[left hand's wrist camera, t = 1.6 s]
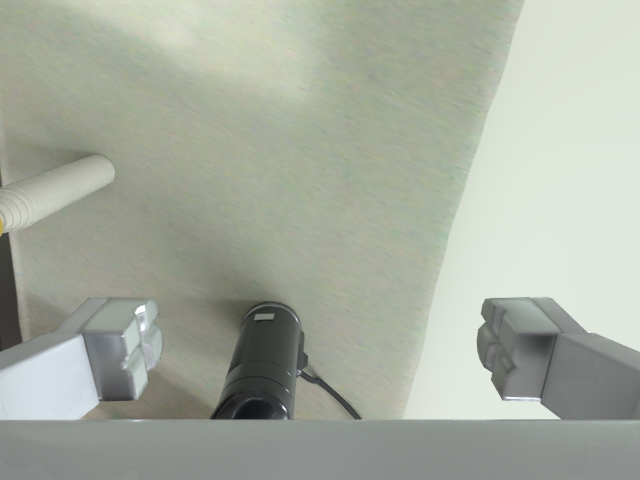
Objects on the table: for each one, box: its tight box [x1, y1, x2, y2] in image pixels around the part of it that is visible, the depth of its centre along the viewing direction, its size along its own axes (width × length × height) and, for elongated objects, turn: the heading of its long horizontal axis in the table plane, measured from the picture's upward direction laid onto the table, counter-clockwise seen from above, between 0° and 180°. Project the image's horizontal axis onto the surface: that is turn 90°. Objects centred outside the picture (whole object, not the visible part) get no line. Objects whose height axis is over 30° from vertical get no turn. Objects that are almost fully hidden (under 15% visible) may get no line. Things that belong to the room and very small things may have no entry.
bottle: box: [0, 155, 115, 233], centre depth 46 cm, size 4×4×24 cm
